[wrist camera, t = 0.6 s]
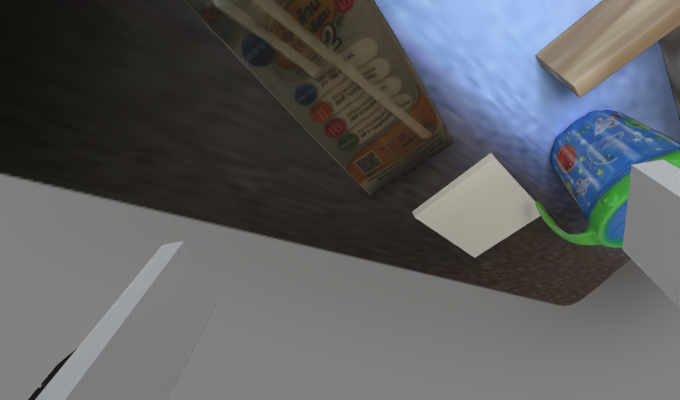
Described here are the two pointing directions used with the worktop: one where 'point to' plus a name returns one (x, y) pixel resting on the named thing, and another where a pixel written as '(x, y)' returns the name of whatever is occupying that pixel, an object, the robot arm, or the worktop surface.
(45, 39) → the worktop surface
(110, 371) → the robot arm
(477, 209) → the paving slab
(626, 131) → the snack cup
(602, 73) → the tan tall piece
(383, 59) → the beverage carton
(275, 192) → the worktop surface
